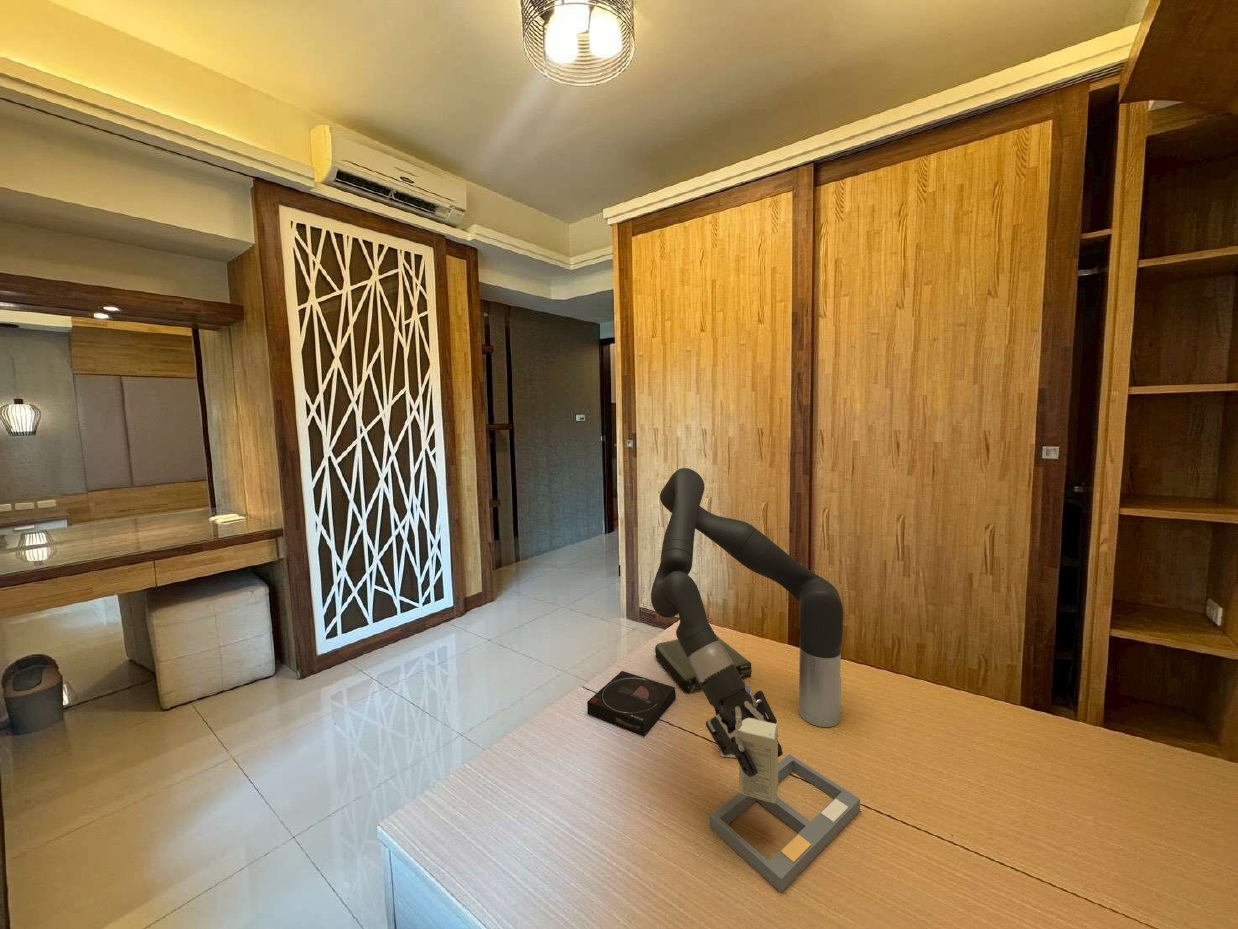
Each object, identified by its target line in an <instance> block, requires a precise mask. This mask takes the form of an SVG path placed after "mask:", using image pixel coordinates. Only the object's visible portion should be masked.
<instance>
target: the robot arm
mask: <svg viewBox="0 0 1238 929" xmlns="http://www.w3.org/2000/svg"><path fill="white" fill-rule="evenodd" d="M704 492H705V482H704V480H703V478H702V476H701V475H700V474H699V472H697V471H695V470H693V469H692V468H687V467H682V468H679V469H677V470H675V471H674V472H673V473H672V475H671V476H670V477H669V479H668V480H667V482H666V484H665V485H664V487H663V488H662V489H661V491H660V493H659V501H660V502H661V504H662V506H663V507H664V508H665V509H666V510H667V511H668V512H670V513H671V515H670V518H669V520H668V524H667V527H666V530H665V533H664V536H663V540H662V547H661V554H660V563H659V566H658V569H657V570H656V574H655V578H654V579H653V580H654V581H653V582H652V583H653V584H652V586H651V592H650V601H651V605H652V609H653V610H654V612H655V613H657V614H658V615H659V616H660V617H662V618H667V619H669V618H670V619H671V618H673V617H676V616H678V618H679V624H678V626H677V628H676V630H675V635H676V639H678V641H679V643H680V645H681V647H682V649H683V651H684V652H685V654H686V656H687V658H688V660H689V663H690V665H691V668H692V670H693V672H694V674H695V676H696V678H697V680H698V682H699V684H700V686H701V688H702V692H703V693H704V696H705V698H706V699H707V702H708V703H709V705H711V706H712V707H713V708H714V711H715V716H713V717H711V718H709V719H707V720H706V721H705V727H706V728H707V730H708V732H709V733H710V735H711V737H712V739H713V740H714V742H715V743H716V745H717V746H718V748H719V751H720V750H721V752H722V753H723V755H725V756H726V755H730V754H733V755H735V757H736V758H735V759H736V760H737V762H738V765H739V764H740V766H741V768H742V770H743V772H744V773H745V774H746V775H748V776H749V777H752V776H755V775H756V774H757V773H758V770H757V768H756V767H755V765H754V763H753V761H752V759H751V757H750V755H749V753H748V752H747V750H745V751H744V743H743V740H742V739H741V738H740V737H739V735H740V734H739V731H738V729H740V728H739V727H741V726H742V721H743V720H744V719H746V718H753V719H758V720H762V721H767V722H771V723H774V724H778V723H777V722H778V721H777V718H776V717H775V714H774V712H773V710H772V708H771V706H770V704H769V702H768V700H767V698H766V696H765V693H764V692H763V691H762V690H761V689H760V690H758V691H755V692H754V693H750V694H752V695H750V694H748V693H747V691H746V690H745V686H746V683H745V681H744V680H743V678H742V677H741V676H740V674H739V673H738V671H737V669H736V667H735V665H734V664H733V662H732V660H731V658H730V657H729V655H728V653H727V652H726V650H725V649H724V647H723V646H722V645H721V643H720V642H719V641H718V638H717V636H718V635H717V634H716V633H715V631H714V629H713V628H712V626H711V624H710V623H709V620H708V617H707V613H706V609H705V606H704V602H703V599H702V596H701V592H700V590H699V588H698V585H697V584H696V582H695V581H694V579H693V578H692V577H691V576H690V575H689V574H690V572H691V571H692V568H693V560H694V543H695V535H696V534H695V533H696V531H698V532H700V533H701V534H703V535H704V536H705V537H706V538H708V539H709V540H710V541H712V542H713V543H715V544H716V545H718V547H720V548H721V549H722V550H724V551H725V552H726V553H727V554H728V555H729V556H731V557H732V558H734V560H736V561H737V562H738V563H740V564H741V566H744V567H745V568H747V569H748V570H750V571H752V572H753V573H756V574H757V575H760V576H762V577H765V578H767V579H769V580H771V581H773V582H775V583H776V584H778V585H780V586H781V588H784V589H785V590H786V591H787V592H788V593H789V594H791V596H793V598H794V599H796V600H797V601H798V602H799V658H798V659H799V663H798V664H799V666H798V667H799V668H798V669H799V675H798V676H799V677H798V678H799V679H798V680H799V682H798V683H799V684H798V685H799V687H798V691H799V692H798V712H799V715H800V717H801V718H802V719H803V720H804V721H805V722H807V723H809V724H811V725H814V726H816V727H821V728H831V727H834V726H836V725H838V724H839V722H840V719H841V718H840V717H841V714H842V712H841V711H842V677H841V672H842V671H841V667H842V665H841V663H842V659H841V658H842V656H841V655H842V645H843V637H844V636H843V634H844V631H843V630H844V607H843V603H842V599H841V596H840V594H839V590H837V588H836V587H835V586H834V585H833V584H832V583H831V582H829V581H827V580H826V579H824V578H822V577H821V576H820V575H818V574H816V573H815V572H813V571H811V570H809V569H808V568H807V567H806V566H803V565H802V564H800V563H799V561H796V560H795V559H794V558H793V557H791V555H790V554H788V553H787V552H786V551H785V550H784V549H782V548H781V547H780V546H779V545H777V544H776V543H775V542H774V541H773V540H771V539H770V538H769V537H767V535H765V534H764V533H763V532H762V531H760V530H758V529H757V528H756V527H755V526H753V525H752V524H750V523H748V522H746V521H743V520H739V519H736V518H729V517H725V516H721V515H720V516H719V515H716V514H714V513H712V512H709V511H708V510H707V509H705V508H704V507H702V506H701V502H702V498H703V496H704ZM715 634H716V635H717V636H716V635H715ZM753 706H755V708H756V709H754V708H753ZM765 712H766V714H765ZM723 723H724V724H725V727H726V731H725V730H724V728H723ZM733 730H734V732H733ZM783 752H784V751H783V747H782V745H781V743H780V742H779V741H778V758H779V757H781V756H782V755H783V754H784V753H783Z"/></svg>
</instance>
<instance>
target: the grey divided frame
mask: <svg viewBox="0 0 1238 929" xmlns="http://www.w3.org/2000/svg"><path fill="white" fill-rule="evenodd" d="M793 772H794V774H796V775H797V776H799V777H801V778H802V779H804V780H805V781H807V782H808V783H810V784H812V786H815V787H816V788H817V789H819V790H820V791H821V792H823V793H825V794H826V795H828V796H830V798H832V799H833V800H832V801H830V803H828V804H827V805H826V806H825V808H823V809H822V810H821V811H820V812H819V813H818V814H817V815H816V816H815V817H813V819H812V820H809V819H808V818H807V817H805V816H804V815H802V814H801V813H800V812H799V811H797V810H796V809H795V808H793V807H792V806H790V805H789V803H788V804H787V803H786V802H785V801H784V800H782V799H781V798H780V797H778V796H777V797H776V801H775V803H771V802H767V801H763V800H760V799H757V798H753V797H750V796H747V795H744V794H741V793H740V792H738V793H737V794H735V795H734V796H733V797H731V798H730V799H729V800H728V801H726V802H725V803H724V804H722V805H721V806H720V807H719V808H717V809H716V810H715V811H713V812H712V813H711V814H709V828H710V830H711V831H713V832H714V833H715V834H716V836H718V837H719V838H720V839H721V840H723V842H725V843H726V844H727V845H728V846H729V847H730V848H731V849H733V851H735V852H736V853H737V854H738V855H739V857H740V858H742V859H743V860H744V861H745V862H747V863H748V865H750V866H751V867H752V868H753V869H754V870H755V871H756V872H757V873H759V875H761V876H762V877H763V878H764V879H765V880H766V881H767V882H769V884H770V885H771V886H773V887H774V888H775V889H776V890H777V891H778V892H779V893H780V894H782V893H783V892H784V891H785V890H787V888H788V887H789V886H790V885H791V884H792V883H793V882H794V880H796V879H797V877H799V875H800V874H801V873H803V871H804V870H805V869H806V868H807V867H808V866H809V865H810V864H811V863H812V862H813V861H814V859H816V857H818V855H819V854H820V853H822V851H824V849H825V848H826V847H828V845H829V844H830V843H831V842H832V841H833V840H834V839H835V838H836V837H837V836H838V835H839V834H841V832H842V830H844V828H845V827H847V825H848V824H850V822H851V821H853V819H854V818H855V817H856V816H857V815H858V813H860V812H861V798H860V797H858V796H856V795H855V794H853V793H851V792H850V791H848V790H847V789H845V788H843V787H842V786H841V785H839V784H838V783H836V782H834V781H833V780H831V779H830V778H828V777H826V776H824V775H823V774H821V773H820V772H819V771H817V770H815V769H814V768H812V767H810V766H809V765H807V764H806V763H804V762H803V761H801V760H799V759H798V758H796V757H795V756H793V755H792V754H790V753H789V754H787V755H786V756H785V757H784V758H782V759H781V760H779V761H778V784H779V783H780V782H782V781H783V780H784V779H785V778H787V777H788V776H789V775H790V774H792V773H793ZM756 802H757V803H758V804H760V805H761V806H763V807H764V808H765V809H767V811H769V812H770V813H771V814H773V815H774V816H775V817H777V818H778V819H780V820H781V821H782V822H784V823H785V824H786V825H787V826H788V827H790V828H791V829H793V830H794V831H795V832H797V834H796V835H794V837H793V838H791V839H790V841H789V842H787V843H786V844H785V845H784V846H783V847H782V848H781V849H780V850H779V851H778V852H777V853H776V854H775V855H774V856H773V857H771V859H770V860H768V859H767V858H766V857H765V856H763V854H761V852H759V851H758V849H756V848H755V847H753V845H752V844H750V843H749V842H748V841H747V840H745V838H743V836H741V835H739V834H738V832H736V831H735V830H734V829H733V828H732V827H731V826H729V824H730V823H731V822H733V821H734V820H735V819H736V818H737V817H738V816H740V815H741V814H742V813H743V812H745V811H746V810H747V809H749V808H750V807H751V806H752V805H753V804H754V803H756Z"/></svg>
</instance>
